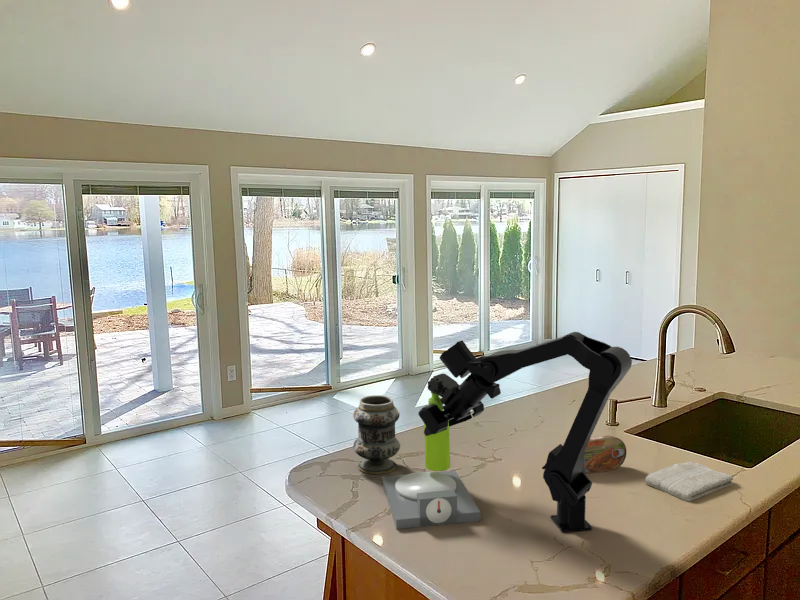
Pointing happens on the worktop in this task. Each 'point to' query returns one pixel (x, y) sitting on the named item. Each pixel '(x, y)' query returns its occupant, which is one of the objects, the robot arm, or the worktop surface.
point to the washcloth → (688, 480)
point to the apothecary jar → (376, 434)
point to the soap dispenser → (437, 444)
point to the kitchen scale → (429, 499)
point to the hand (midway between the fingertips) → (433, 430)
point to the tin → (603, 454)
